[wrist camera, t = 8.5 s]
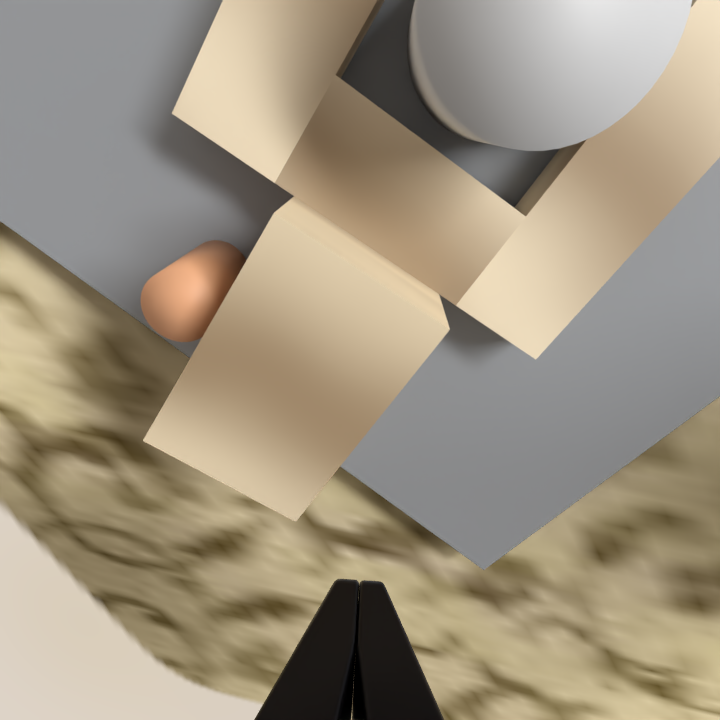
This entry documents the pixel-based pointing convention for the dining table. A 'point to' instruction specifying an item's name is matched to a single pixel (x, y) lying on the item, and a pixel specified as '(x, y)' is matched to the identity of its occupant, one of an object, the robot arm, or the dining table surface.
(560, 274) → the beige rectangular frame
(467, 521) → the board
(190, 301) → the orange rounded piece
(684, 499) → the dining table surface
